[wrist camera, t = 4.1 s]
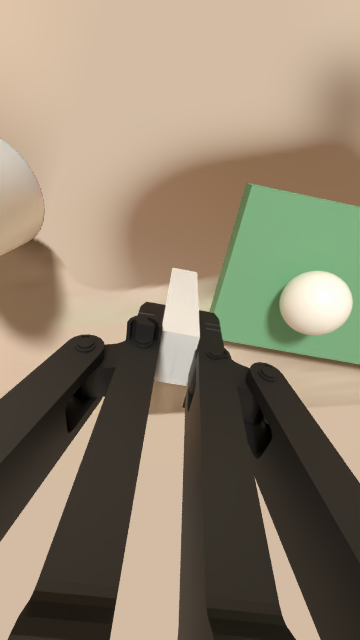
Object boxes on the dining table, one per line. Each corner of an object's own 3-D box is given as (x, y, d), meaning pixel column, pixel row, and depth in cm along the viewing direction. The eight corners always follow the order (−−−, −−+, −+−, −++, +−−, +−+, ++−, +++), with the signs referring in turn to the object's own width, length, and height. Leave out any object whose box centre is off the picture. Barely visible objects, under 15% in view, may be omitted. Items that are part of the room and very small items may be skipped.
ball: (286, 256, 18) (310, 281, 14) (345, 267, 18) (383, 295, 14) (264, 308, 20) (279, 342, 16) (316, 318, 20) (343, 353, 17)
